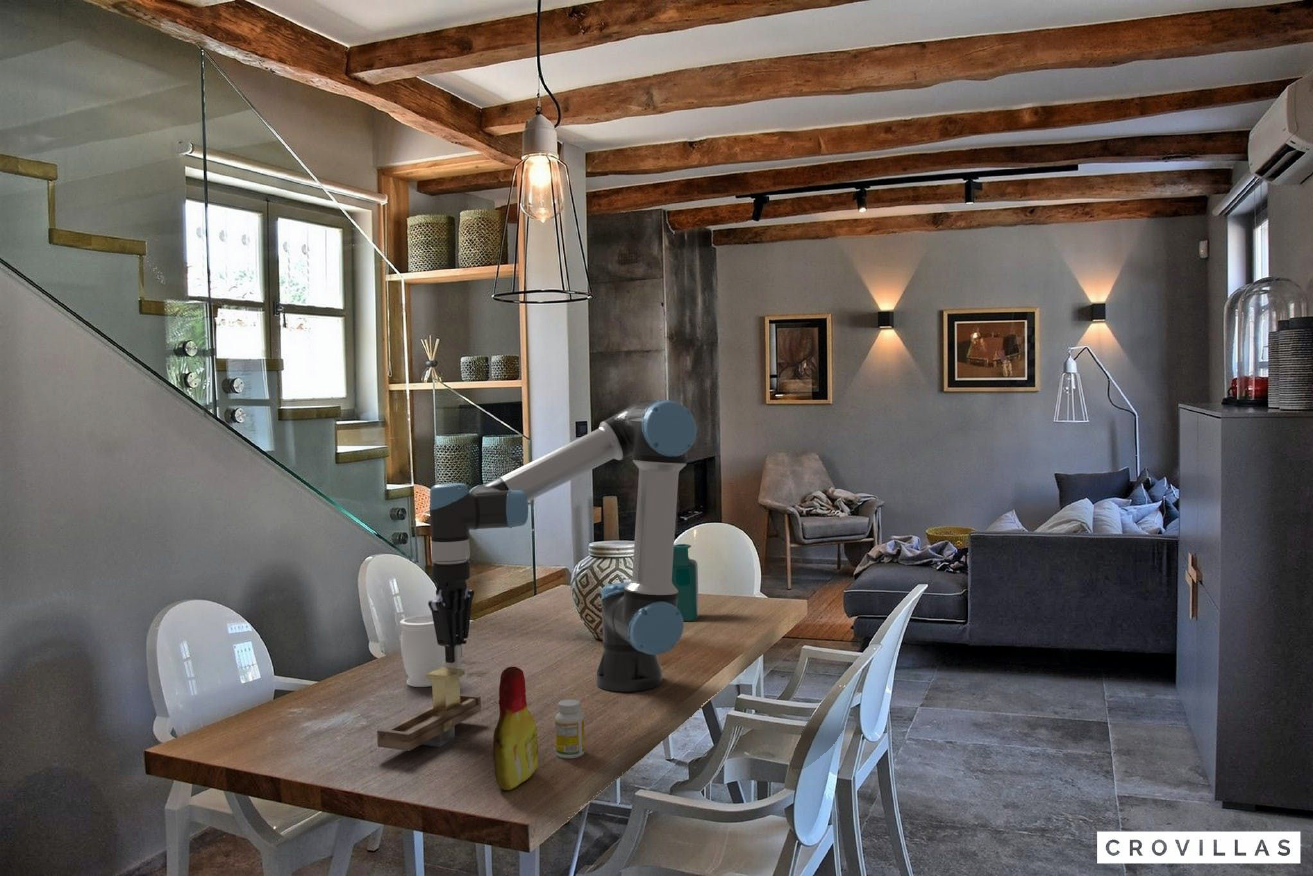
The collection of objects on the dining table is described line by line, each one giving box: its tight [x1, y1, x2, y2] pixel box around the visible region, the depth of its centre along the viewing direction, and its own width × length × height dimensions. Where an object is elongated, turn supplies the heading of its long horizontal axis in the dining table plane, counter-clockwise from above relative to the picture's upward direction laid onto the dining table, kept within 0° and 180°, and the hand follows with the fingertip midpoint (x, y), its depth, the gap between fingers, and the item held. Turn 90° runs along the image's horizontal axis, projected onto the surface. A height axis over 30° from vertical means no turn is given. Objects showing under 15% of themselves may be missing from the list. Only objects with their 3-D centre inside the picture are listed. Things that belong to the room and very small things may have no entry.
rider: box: [426, 667, 466, 715], centre depth 198 cm, size 5×6×8 cm
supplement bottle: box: [554, 698, 586, 759], centre depth 184 cm, size 5×5×10 cm
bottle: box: [492, 666, 539, 791], centre depth 171 cm, size 12×6×20 cm, turn 163°
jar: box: [399, 614, 446, 688], centre depth 233 cm, size 11×10×15 cm
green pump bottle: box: [672, 543, 700, 622], centre depth 292 cm, size 10×8×22 cm
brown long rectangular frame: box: [376, 693, 482, 752], centre depth 193 cm, size 24×8×6 cm, turn 158°
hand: (454, 677), depth 201 cm, fingers closed
